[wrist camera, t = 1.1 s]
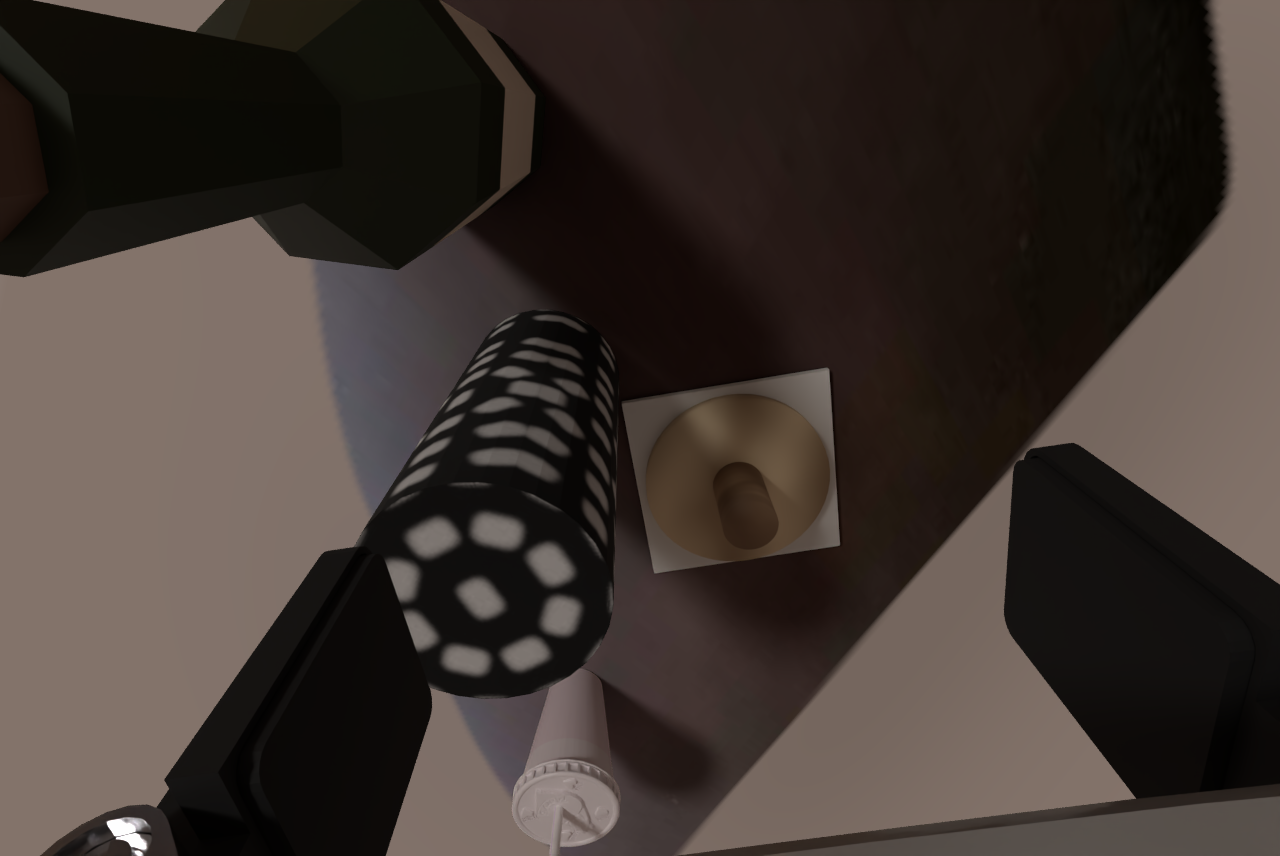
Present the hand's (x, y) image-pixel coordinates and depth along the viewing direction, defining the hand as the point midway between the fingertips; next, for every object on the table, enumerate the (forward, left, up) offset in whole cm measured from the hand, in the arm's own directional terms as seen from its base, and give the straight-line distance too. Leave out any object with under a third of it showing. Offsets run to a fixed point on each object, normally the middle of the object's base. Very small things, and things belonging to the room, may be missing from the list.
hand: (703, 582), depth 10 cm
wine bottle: (+8, -8, -30) cm, 32 cm away
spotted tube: (+7, +6, -30) cm, 31 cm away
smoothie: (+10, +29, -30) cm, 43 cm away
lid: (-3, +14, -29) cm, 33 cm away
